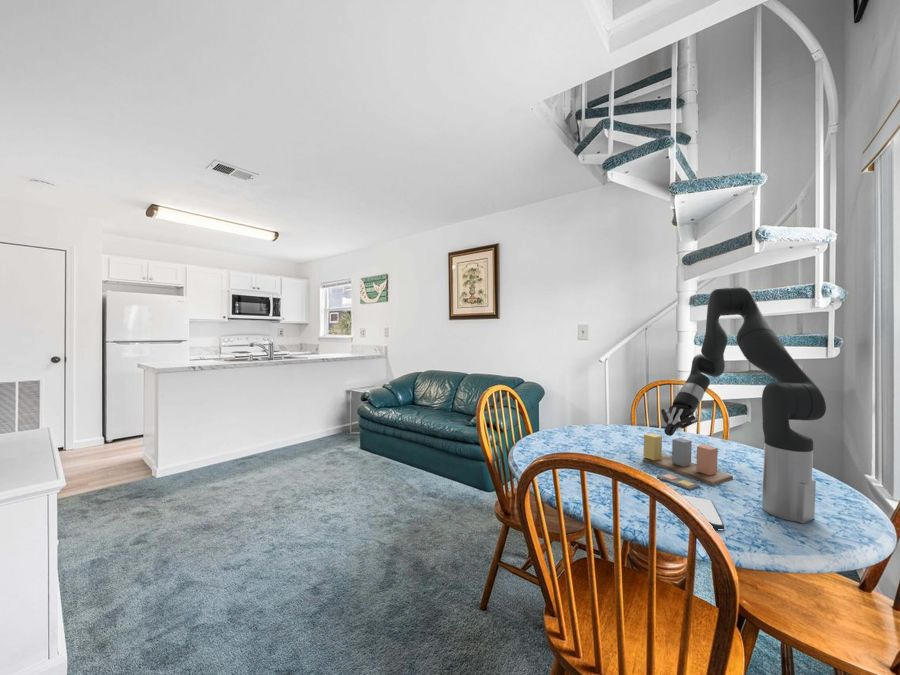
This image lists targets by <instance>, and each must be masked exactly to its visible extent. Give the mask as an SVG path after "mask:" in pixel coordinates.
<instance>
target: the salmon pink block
mask: <svg viewBox="0 0 900 675" xmlns="http://www.w3.org/2000/svg"><path fill="white" fill-rule="evenodd" d="M718 451H719V450H718V447H716V446H711V445H709V444H705V443H704V444H701V445H700V444H699V445H697V446H696V463H695V464H696V471H698V472H701V473H704V474H707V475H713V474H716V473H717V471H718Z"/></svg>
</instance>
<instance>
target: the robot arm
mask: <svg viewBox="0 0 900 675" xmlns="http://www.w3.org/2000/svg"><path fill="white" fill-rule="evenodd" d="M707 300H708V301H707V309H706V311H707V312H706V323H705V332H704V333H705V334H704V338H703V342H702V346H701V350H700V351H701V352H700V353H699V354H696V355H694V356H693V358H692V362H691V368H690V373H689V374H688V377H687V379H686V381H685V382H684V384H683V385H682V387H680V390H678V392H677V395H676V396H675V397H674V399H673V401H672V405H670V407H668V408H667V409H664V408H662V409H660V411H661V414H662V419H663V422H664V423H665V424H666V426H665V428H664V430H663V431H664V434H665V435H666V436H669V437H672V436H673V435H674V434H675V433H676V431H677V430H678V429H683V430H684V429H685V428H687V427H690V426H692V425H694V424H696V423H697V422H698V419H697V418H696V416H695V412H696V410H697V408H698V407H699V405H700V403H701V401H702V400H703V398H704V396H705V393H706V391H707V389H708V388H709V386H710V384H711V380H710V378H709V377H708V376H710V377H713V378H718V377H721V375H723V373H724V372H725V366H726V364H725V357H724V356H725V350H726V347H727V345H728V335H727V332H726V331H725V329H724V328H723V327H722V325H721V323H720V317H721V316H722V317H724V316H736V315H737V316H738V315H739V316H741V317H742V318H743V322H742V324H741V326H740V328H739V329H738V332H737V334H736V344H737V346H738V347H739V349H740V351H741V353H742V355H743V356H744V358H745V359H746V360H747V361H748V362H749V363H750V364H752V365H753V366H755V367H756V368H758V369H759V370H761V371H763V372H764V373H766V374H768V375H769V376H771V377H772V378H774V379H775V380H777V381H778V382H773V381H772V382H769V383H767V384H766V385H765V386H764V388H763V390H762V393H761V412H762V431H763V438H764V444H763V447H764V449H763V470H762V474H763V475H762V499H761V502H762V504H761V507H762V510H764V511H765V512H766V513H768V514H770V515H772V516H775V517H777V518H779V519H784V520H787V521H792V522H797V523H800V524H806V523H808V522H810V521H811V520H813V519H815V513H816V512H815V510H816V509H815V508H816V491H817V490H816V488H817V485H816V482H817V481H816V480H815V479H813V467H814V466H813V462H814V461H813V460H814V440H813V438H812V437H811V436H808V435H807V434H803V433H800V432H798V431H796V430H793V429H792V428H791V426H790V421H791V420H792V421H794V420H795V421H816V420H819V419H821V418H823V417H824V416H825V414H826V411H827V404H826V400H825V397H824V395H823V394H822V392H821V390H820V388H819V387H818V386H817V385H816V384H815V383H814V382H813V380H812V379H811V378H810V377H809V376H808V375H807V374H806V372H804V371H803V370H802V369H801V367H800V366H799V365H798V363H796V361H795V360H794V359H793V357H792V356H791V355H790V353H789V352H788V350H787V349H786V348H785V346H784V344H783V343H782V341H781V339H780V338H779V337H778V335H777V333H776V332H775V331H774V330H773V329H772V327H771V326H770V325H769V323H768V321H767V320H766V319H765V317H764V316H763V313H762V312H761V310H760V308H759V306H758V304H757V302H756V300H755V298H754V297H753V294H752V292H751V291H750V290H749V289H748V288H746V287H744V286H731V287H719V288H715V289H713V290H712V291H711V292H710V294H709V297H708V299H707Z"/></svg>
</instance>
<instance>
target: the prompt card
mask: <svg viewBox="0 0 900 675" xmlns="http://www.w3.org/2000/svg"><path fill="white" fill-rule="evenodd" d="M656 478H657V479H659V480H661V481H664V480H665V481H664V482H666V481H667V483H669V484H672V483H673V484H672V485H674V486H677V487H680V488H682V489H685V490H688V491H692V490H696V489H698V488H700V487H701V485H700V484H698V483H695V482H692V481H691V480H687V479H685V478H684V479H683V478H682V477H678V476H676V475H673V474H670V473H668V472H665V473H664V474H660V475H657V476H656ZM660 478H662V479H660Z"/></svg>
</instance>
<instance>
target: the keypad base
mask: <svg viewBox="0 0 900 675" xmlns="http://www.w3.org/2000/svg"><path fill="white" fill-rule="evenodd" d="M642 461H643V462H646V463H649V464H651V463H652V465H655V466H657V467H659V466H660V468H662V467H663V468H662V469H665V468H666V470H668V469H669V471H671V472H674V473H677V474H679V475H682V476H686V477H688V478H691V479H693V480H696V481H699V482H702V483H704V484H705V483H706V484H708V485H711V486H716V485H718V484H721V483H726V482H728V481H731V480H734V476H733V475H731V474H728V473H725V472H722V471H720V470H719V471H718V470H717V473H716V474H713V475H707V474H704V473H701V472H698V471H696V463H693V462H691V465H688V466H685V467H683V466H680V465H677V464H674V463H672V455H668V454H666V453H662V459H659V460H651V459H648V458H645V457H642Z"/></svg>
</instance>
